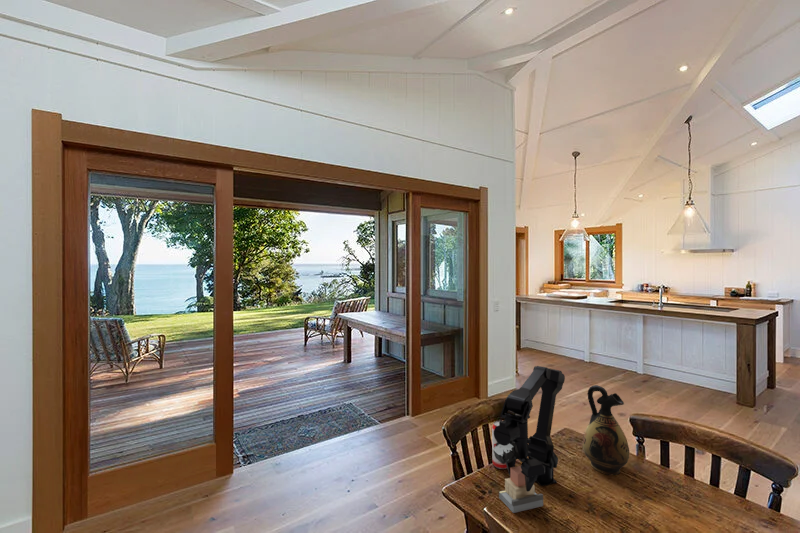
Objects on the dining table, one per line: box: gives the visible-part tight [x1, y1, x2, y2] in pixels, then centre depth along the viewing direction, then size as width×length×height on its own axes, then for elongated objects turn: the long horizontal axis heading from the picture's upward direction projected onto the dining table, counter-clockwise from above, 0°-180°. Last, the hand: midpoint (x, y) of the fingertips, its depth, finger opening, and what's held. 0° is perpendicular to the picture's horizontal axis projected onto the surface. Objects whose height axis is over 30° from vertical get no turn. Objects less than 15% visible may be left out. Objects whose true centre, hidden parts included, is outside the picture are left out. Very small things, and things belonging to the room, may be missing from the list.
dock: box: [498, 489, 544, 514], centre depth 118 cm, size 11×8×4 cm
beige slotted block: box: [504, 477, 536, 500], centre depth 119 cm, size 7×6×4 cm
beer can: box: [491, 420, 507, 470], centre depth 140 cm, size 6×6×16 cm
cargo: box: [509, 465, 525, 487], centre depth 119 cm, size 4×4×4 cm
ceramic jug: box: [582, 384, 631, 476], centre depth 138 cm, size 17×15×30 cm
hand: (519, 482), depth 119 cm, fingers open, 9 cm apart
